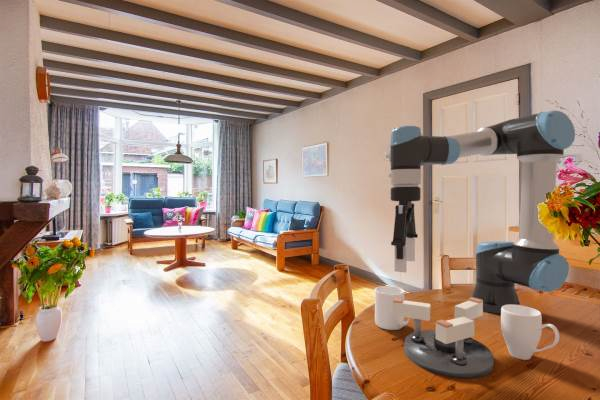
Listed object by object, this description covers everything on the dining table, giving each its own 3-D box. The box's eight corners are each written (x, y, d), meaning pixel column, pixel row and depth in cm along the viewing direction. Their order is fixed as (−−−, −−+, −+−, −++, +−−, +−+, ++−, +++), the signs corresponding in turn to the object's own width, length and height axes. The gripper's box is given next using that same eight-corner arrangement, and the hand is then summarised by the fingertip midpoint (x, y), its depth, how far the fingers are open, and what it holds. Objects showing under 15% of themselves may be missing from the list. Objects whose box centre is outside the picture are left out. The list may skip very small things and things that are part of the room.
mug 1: (398, 338, 90) (399, 299, 90) (368, 322, 101) (369, 288, 100) (419, 331, 95) (419, 294, 94) (388, 317, 105) (389, 284, 105)
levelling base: (461, 335, 92) (461, 316, 92) (514, 375, 72) (514, 351, 72) (392, 338, 90) (392, 319, 90) (427, 380, 70) (427, 355, 70)
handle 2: (465, 342, 81) (465, 307, 81) (454, 338, 83) (454, 303, 83) (482, 333, 86) (482, 300, 86) (471, 329, 89) (472, 297, 88)
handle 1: (430, 335, 85) (430, 301, 85) (429, 340, 82) (429, 305, 82) (394, 329, 88) (394, 297, 88) (392, 333, 86) (393, 300, 86)
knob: (463, 351, 76) (463, 314, 76) (473, 357, 74) (474, 318, 73) (435, 360, 72) (435, 320, 72) (445, 366, 70) (446, 325, 70)
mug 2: (493, 352, 82) (494, 308, 82) (510, 344, 86) (511, 302, 86) (550, 375, 72) (551, 324, 72) (565, 365, 76) (566, 316, 76)
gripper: (399, 186, 99) (399, 255, 99) (379, 186, 77) (379, 275, 77) (426, 186, 95) (426, 258, 96) (412, 185, 73) (412, 279, 74)
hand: (405, 266), depth 87 cm, fingers open, 13 cm apart
